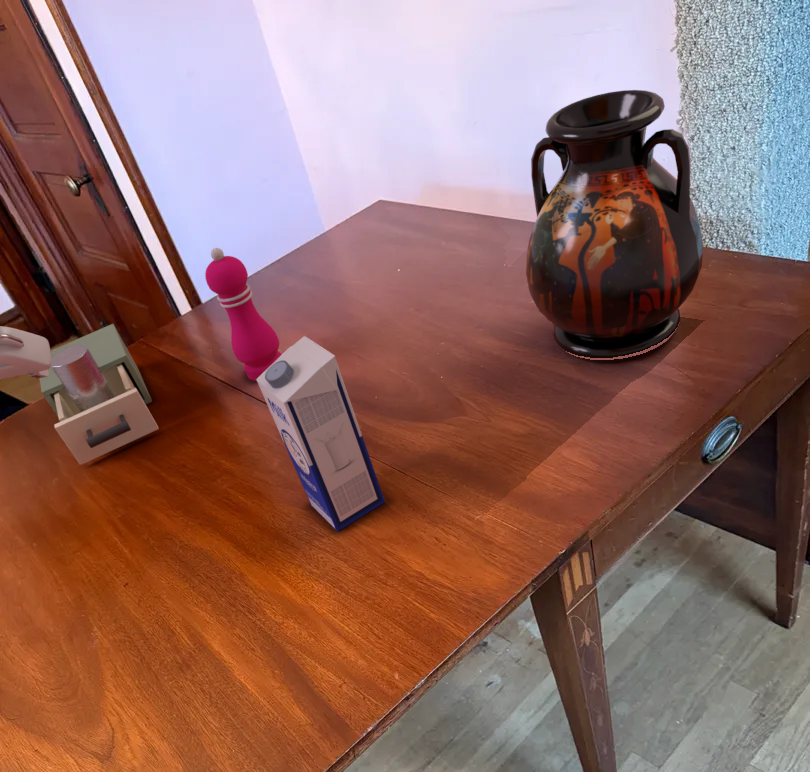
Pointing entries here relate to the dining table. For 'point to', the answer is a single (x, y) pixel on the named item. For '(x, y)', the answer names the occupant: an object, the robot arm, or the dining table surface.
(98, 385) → the can
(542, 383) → the dining table surface
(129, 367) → the cabinet
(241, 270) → the pepper mill
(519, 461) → the dining table surface
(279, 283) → the dining table surface
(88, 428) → the drawer
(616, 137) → the amphora vase
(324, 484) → the milk carton
